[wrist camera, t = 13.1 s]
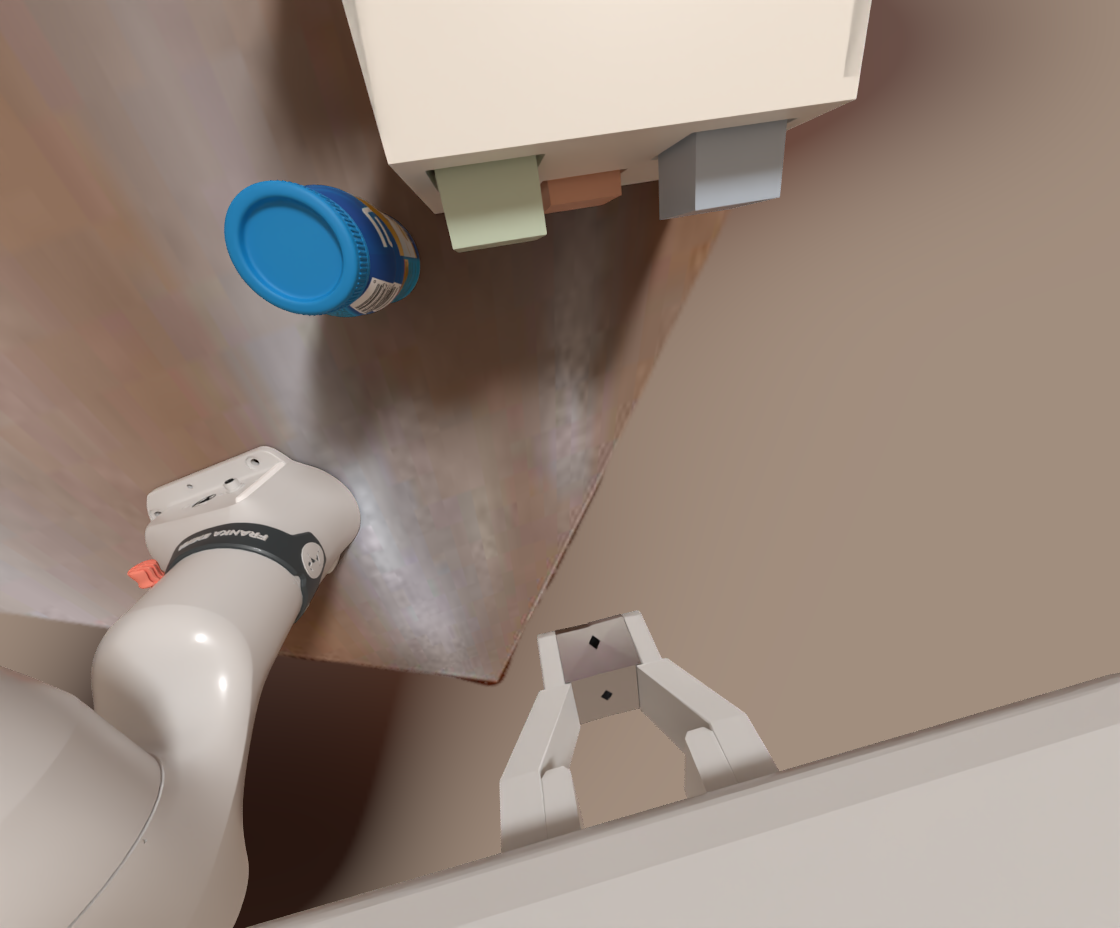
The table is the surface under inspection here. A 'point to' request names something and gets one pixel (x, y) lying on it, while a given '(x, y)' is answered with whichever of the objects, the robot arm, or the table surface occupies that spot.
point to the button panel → (592, 77)
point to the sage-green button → (492, 203)
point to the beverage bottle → (319, 249)
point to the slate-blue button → (721, 169)
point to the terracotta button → (580, 191)
